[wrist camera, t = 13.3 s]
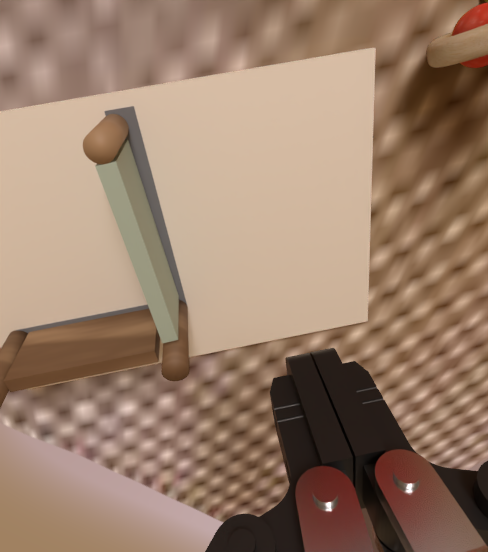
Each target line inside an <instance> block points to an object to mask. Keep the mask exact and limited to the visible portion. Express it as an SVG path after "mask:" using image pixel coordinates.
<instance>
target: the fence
mask: <svg viewBox="0 0 488 552" xmlns="http://www.w3.org/2000/svg"><path fill="white" fill-rule="evenodd" d="M159 349H160V336H159V333H158V330H157V328H156V325H155V322H154V320H153V317H152V315H151V312H150V309H144V310H139V311H134V312H129V313H124V314H119V315H114V316H109V317H103V318H98V319H93V320H88V321H83V322H78V323H73V324H68V325H63V326H57V327H52V328H47V329H42V330H37V331H32V332H29V333H27V332H24V331H16V330H14V331H12V332H11V333H10V334H9V336H8V337H7V339H6V341H5V342H4V344H3V346H2V348H1V349H0V407H1V405H2V403H3V401H4V399H5V397H6V395H7V393H8V391H10V392H14V391H18V390H23V389H28V388H33V387H38V386H43V385H48V384H53V383H58V382H63V381H68V380H73V379H78V378H83V377H88V376H93V375H98V374H103V373H108V372H113V371H118V370H123V369H128V368H133V367H138V366H142V365H147V364H152V363H157V362H159ZM188 374H189V342H188V307H187V305H186V303H185V302H183V301H181V300H179V311H178V340H175V341H171V342H167V343H163V354H162V375H163V377H164V378H166V379H167V380H170V381H179V380H182V379H184V378H185V377H187V375H188Z"/></svg>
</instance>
